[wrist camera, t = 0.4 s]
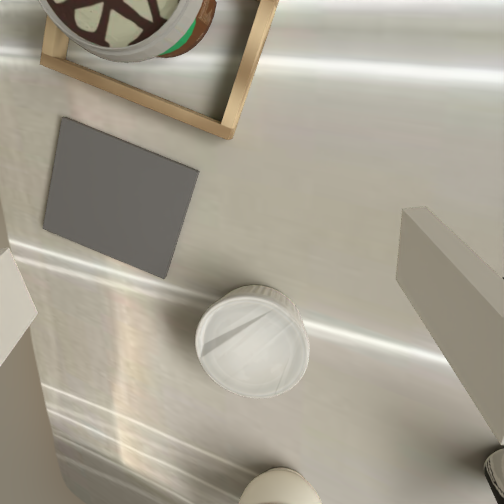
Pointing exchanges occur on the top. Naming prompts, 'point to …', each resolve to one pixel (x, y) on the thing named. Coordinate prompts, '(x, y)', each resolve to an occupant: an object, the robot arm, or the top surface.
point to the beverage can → (496, 474)
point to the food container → (132, 26)
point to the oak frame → (56, 60)
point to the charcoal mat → (117, 197)
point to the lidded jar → (279, 489)
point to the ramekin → (253, 342)
